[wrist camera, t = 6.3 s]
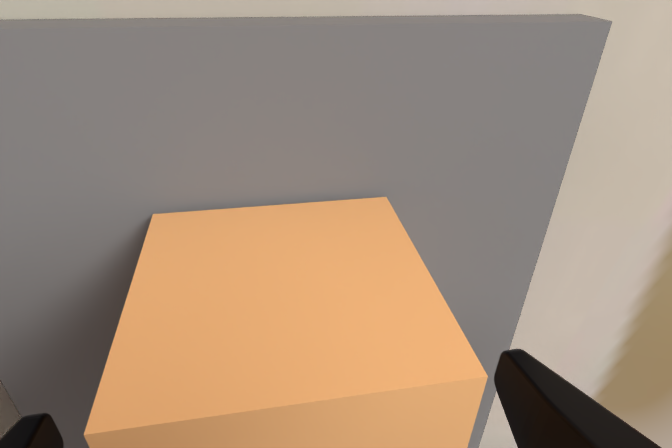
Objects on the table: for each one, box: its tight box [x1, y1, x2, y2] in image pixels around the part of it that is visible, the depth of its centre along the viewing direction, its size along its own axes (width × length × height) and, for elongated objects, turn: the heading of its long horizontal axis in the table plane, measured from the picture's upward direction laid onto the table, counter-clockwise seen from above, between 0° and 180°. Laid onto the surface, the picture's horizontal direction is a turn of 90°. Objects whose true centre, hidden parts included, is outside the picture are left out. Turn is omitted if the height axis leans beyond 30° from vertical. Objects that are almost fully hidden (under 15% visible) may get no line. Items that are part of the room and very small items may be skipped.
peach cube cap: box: [84, 197, 488, 448], centre depth 9 cm, size 6×5×5 cm
